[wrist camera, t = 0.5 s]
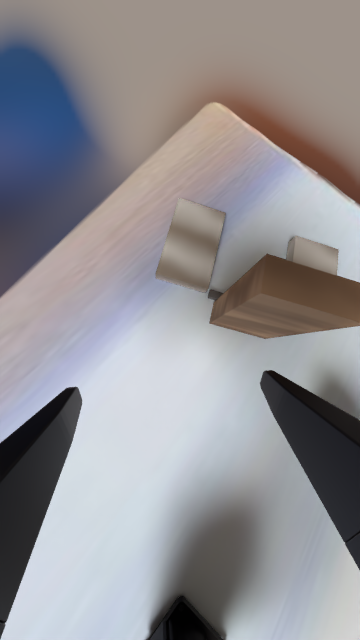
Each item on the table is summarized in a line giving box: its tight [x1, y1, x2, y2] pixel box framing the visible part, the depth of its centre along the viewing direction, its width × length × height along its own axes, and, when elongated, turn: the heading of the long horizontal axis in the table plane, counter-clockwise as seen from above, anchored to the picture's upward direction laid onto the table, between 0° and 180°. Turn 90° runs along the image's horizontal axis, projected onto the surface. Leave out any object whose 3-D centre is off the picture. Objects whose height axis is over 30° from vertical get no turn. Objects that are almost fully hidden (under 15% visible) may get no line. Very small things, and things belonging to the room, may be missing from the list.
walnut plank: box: [209, 254, 360, 339], centre depth 18 cm, size 3×8×12 cm, turn 76°
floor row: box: [156, 198, 338, 300], centre depth 25 cm, size 13×25×2 cm, turn 76°
